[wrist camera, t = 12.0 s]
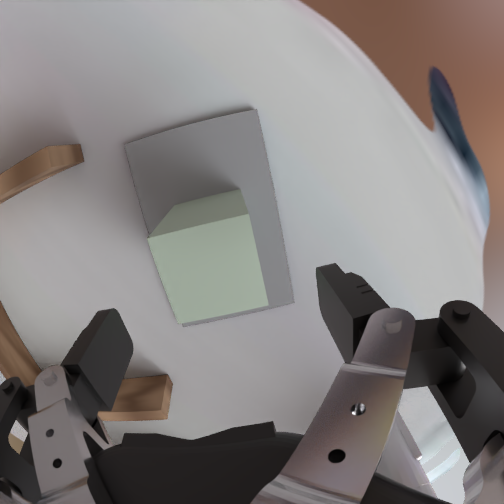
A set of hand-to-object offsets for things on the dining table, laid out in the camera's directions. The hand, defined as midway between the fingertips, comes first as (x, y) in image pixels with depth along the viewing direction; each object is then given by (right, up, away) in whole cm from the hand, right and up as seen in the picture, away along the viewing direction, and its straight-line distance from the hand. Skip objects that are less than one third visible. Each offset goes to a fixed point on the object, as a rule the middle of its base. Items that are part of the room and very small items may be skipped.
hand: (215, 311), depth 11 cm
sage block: (-1, +4, +11) cm, 12 cm away
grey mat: (-2, +4, +11) cm, 12 cm away
